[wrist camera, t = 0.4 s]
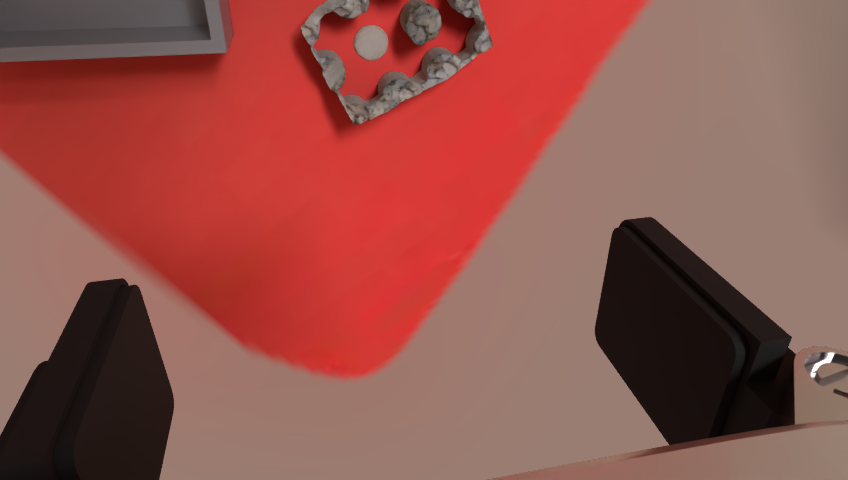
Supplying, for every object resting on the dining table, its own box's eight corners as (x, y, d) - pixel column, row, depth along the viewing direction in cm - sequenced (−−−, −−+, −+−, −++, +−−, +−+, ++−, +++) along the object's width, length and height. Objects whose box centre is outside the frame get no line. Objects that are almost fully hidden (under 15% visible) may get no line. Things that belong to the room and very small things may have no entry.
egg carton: (344, 112, 40) (349, 133, 37) (291, 6, 36) (291, 18, 33) (485, 47, 40) (504, 62, 36) (448, -67, 36) (465, -63, 32)
